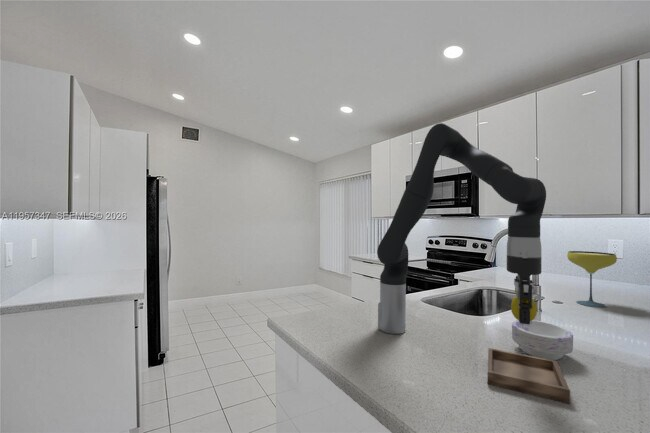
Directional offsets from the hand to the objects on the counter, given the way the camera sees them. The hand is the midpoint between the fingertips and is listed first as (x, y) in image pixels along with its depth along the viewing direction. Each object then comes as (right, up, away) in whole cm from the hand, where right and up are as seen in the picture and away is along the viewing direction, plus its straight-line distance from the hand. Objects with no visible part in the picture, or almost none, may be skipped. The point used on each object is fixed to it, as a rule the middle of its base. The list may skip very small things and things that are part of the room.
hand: (523, 319), depth 78 cm
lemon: (0, -1, 0) cm, 1 cm away
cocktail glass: (+79, -16, +69) cm, 106 cm away
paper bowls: (+15, -15, +14) cm, 26 cm away
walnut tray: (0, -15, 0) cm, 15 cm away
